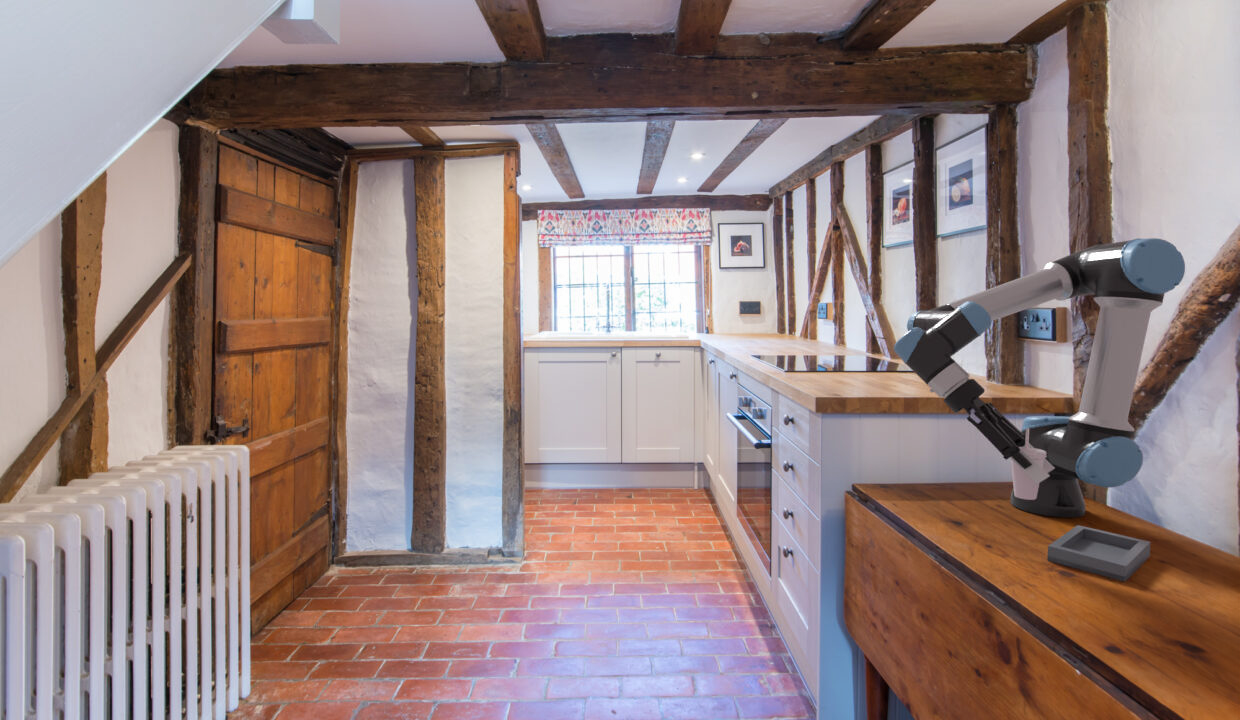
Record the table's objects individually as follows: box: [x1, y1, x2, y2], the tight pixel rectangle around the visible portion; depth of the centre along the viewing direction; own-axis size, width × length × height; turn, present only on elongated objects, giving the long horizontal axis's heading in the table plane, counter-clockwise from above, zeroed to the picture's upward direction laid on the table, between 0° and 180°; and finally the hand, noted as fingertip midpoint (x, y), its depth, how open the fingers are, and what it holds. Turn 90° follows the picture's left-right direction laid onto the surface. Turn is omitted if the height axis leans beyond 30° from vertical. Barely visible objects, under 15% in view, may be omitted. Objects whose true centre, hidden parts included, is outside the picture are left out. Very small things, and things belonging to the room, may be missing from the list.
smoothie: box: [1010, 428, 1047, 500], centre depth 121 cm, size 6×6×14 cm
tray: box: [1046, 524, 1152, 583], centre depth 119 cm, size 18×12×3 cm, turn 128°
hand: (1045, 475), depth 119 cm, fingers closed on smoothie, 6 cm apart
